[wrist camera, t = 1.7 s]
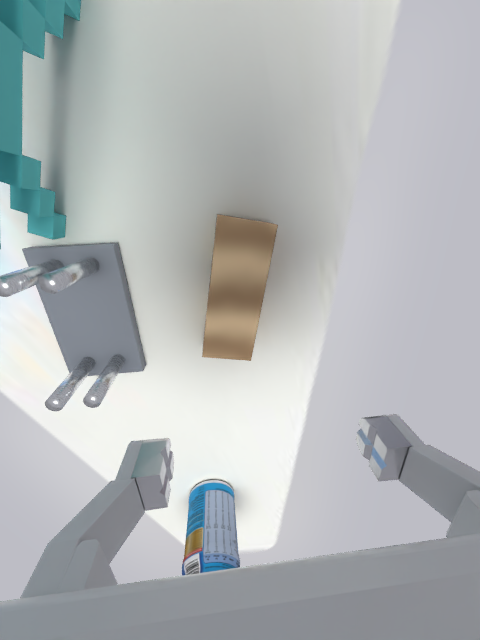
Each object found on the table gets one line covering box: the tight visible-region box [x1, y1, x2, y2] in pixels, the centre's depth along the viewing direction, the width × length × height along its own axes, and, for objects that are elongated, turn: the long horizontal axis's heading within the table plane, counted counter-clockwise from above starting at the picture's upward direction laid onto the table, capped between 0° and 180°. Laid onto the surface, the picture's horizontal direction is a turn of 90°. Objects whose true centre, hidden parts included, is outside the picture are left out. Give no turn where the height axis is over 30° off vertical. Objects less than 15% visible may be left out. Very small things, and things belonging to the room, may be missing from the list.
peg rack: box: [0, 243, 146, 411], centre depth 26 cm, size 16×9×9 cm, turn 2°
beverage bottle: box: [182, 480, 240, 576], centre depth 37 cm, size 8×8×20 cm
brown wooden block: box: [202, 214, 278, 361], centre depth 29 cm, size 16×6×4 cm, turn 171°
